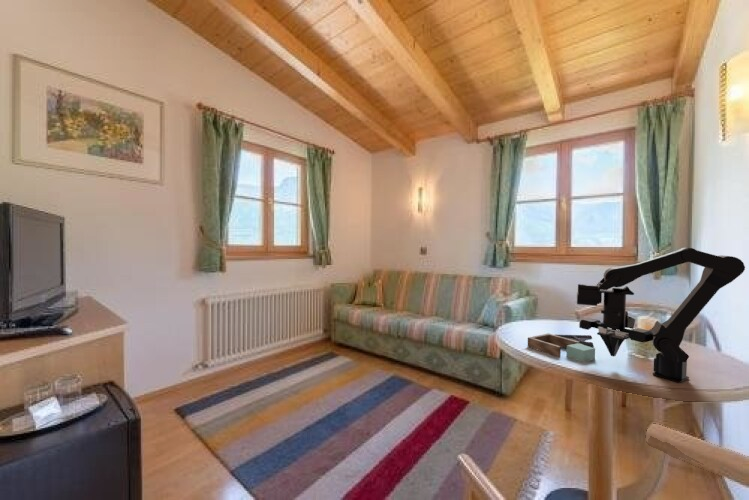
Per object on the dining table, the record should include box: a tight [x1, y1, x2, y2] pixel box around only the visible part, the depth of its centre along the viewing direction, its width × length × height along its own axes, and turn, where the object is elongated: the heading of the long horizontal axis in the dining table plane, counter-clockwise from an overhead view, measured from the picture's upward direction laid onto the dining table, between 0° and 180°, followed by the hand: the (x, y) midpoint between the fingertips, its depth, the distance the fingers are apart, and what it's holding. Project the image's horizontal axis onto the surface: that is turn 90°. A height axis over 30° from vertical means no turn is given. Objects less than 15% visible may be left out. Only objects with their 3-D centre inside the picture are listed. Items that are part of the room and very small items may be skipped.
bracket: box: [555, 334, 595, 348], centre depth 131 cm, size 14×15×3 cm
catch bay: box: [527, 332, 581, 358], centre depth 123 cm, size 12×12×4 cm
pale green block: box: [566, 343, 596, 363], centre depth 114 cm, size 6×6×4 cm
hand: (613, 356), depth 105 cm, fingers closed
